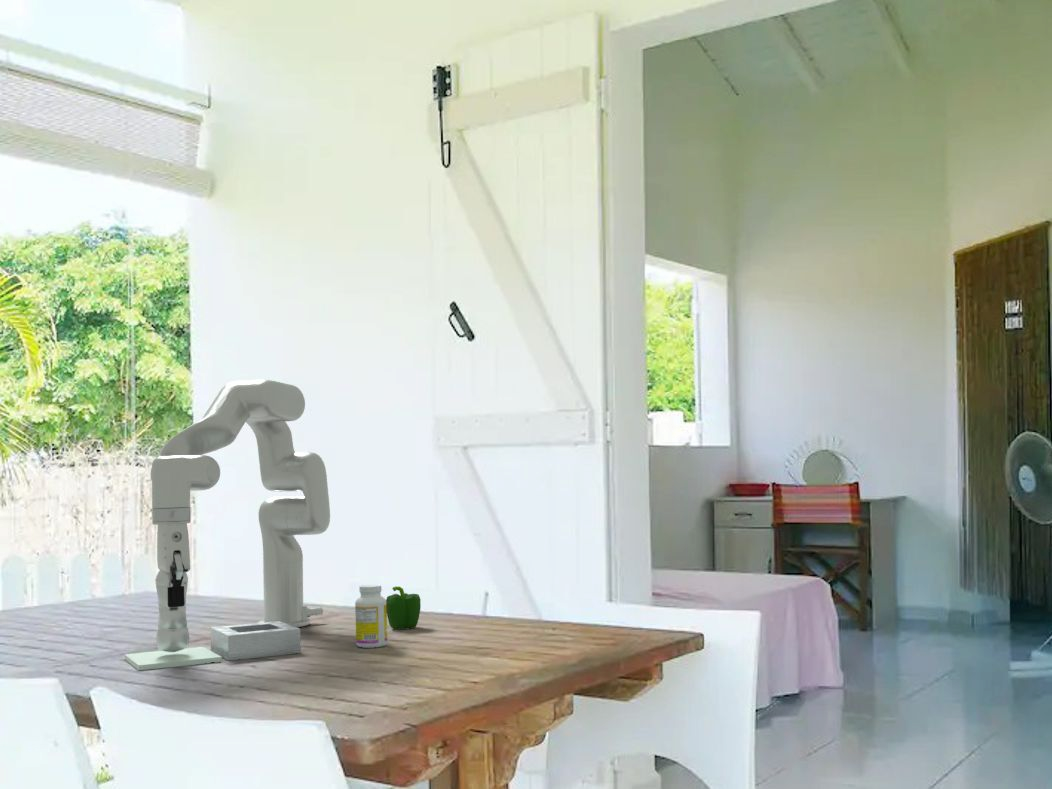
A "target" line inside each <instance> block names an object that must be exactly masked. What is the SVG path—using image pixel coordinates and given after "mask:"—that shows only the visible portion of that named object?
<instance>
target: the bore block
mask: <svg viewBox="0 0 1052 789" xmlns="http://www.w3.org/2000/svg"><path fill="white" fill-rule="evenodd" d="M301 644H302V642H301V628H300V627H294V626H291V625H289V624H286V623H283V622H281V621H275V622H264V623H258V622H254V623H245V624H235V625H233V624H232V625H222V626H220V625H219V626H211V627H210V651H212V652H214V653H216V654H217V655H219V656H221V657H222V659H225V660H226V661H229V660H230V661H238V660H239V659H240V660H248V659H255V658H256V659H257V658H267V657H274V656H275V657H276V656H285V655H296V653H297V654H301V652H302V651H301V650H302V649H301V646H302V645H301Z"/></svg>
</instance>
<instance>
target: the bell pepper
mask: <svg viewBox="0 0 1052 789" xmlns="http://www.w3.org/2000/svg"><path fill="white" fill-rule="evenodd" d="M392 591H393V592H396V591H399V594H398V593H392V594H391V595H388V596H387V597H386V598H385V599H386V609H387V620H388V623H389V626H390V628H391V629H395V630H404V629H407V628H409V629H414V628H416V626H418V622H419V618H420V614H421V609H422V608H421V605H422V604H421V596H420V595H419V593H418V594H417V593H410V594H409V593H407V592H405V591H404V589H403V588H402V587H401V586H396V585H395V586H393V587H392Z"/></svg>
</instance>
